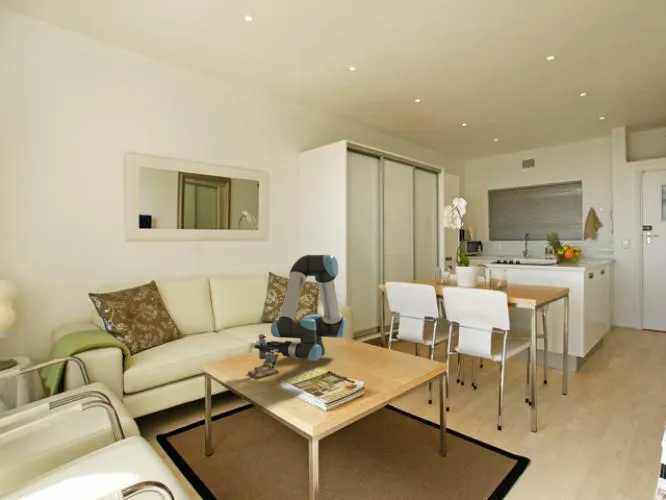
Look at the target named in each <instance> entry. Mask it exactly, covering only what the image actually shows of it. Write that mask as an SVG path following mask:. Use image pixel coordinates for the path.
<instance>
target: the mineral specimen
mask: <svg viewBox="0 0 666 500" xmlns="http://www.w3.org/2000/svg"><path fill="white" fill-rule="evenodd" d="M279 356H280V353H274V354H272V353H268V352H267V353H266V359H264V360H263V363H262V364H263V365H264V367H267V366H268V364H269V363H271V364H272V367H273V368H275V367H276V365H277V362H278V358H279Z"/></svg>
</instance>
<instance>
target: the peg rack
mask: <svg viewBox="0 0 666 500" xmlns="http://www.w3.org/2000/svg"><path fill="white" fill-rule="evenodd" d="M253 369H254V370H253ZM253 369H252V370H249V371H247V375H249V374H250V375H249V376H251V375H252V376H251V377H253V376H254V377H253V378H256V379H257V380H261V379H264V378H267V377H269V376H274V375H276V374H279V372H280V371H279V370H278V369H276V368H274V367H273V368H272V364H271V363H269V364H268V366H263V367H261V368H259V366H255V367H254V368H253Z"/></svg>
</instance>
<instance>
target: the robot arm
mask: <svg viewBox="0 0 666 500" xmlns="http://www.w3.org/2000/svg"><path fill="white" fill-rule="evenodd" d="M338 274H339V264H338V259H337V258H336V256H335V255H333V254H305V255H303V256H301V257H299V258H298V259H297V260H296V261H295V262H294V263H293V265H292V266H291V269H290V271H289V274H288V277H289V281H288V284H287V287H286V292H285V294H284V295H285V296H284V299H283V303H282V306H281V310H280V314H279V317H278V320H276V321H273V322H272V323H271V325H270V332H271V336H272V337H274V338H281V339H283V338H285V339H287V338H288V339H300V341H290V340H285V341H276V340H271V341H266V345H262V343H259V340H256V342H250V348H251V349H255V350H258V352H259V351H262V352H266V353H267V354H268V353H271V354H275V353H276V354H282V356H284V357H286V358H287V357H288V358H295V359H296V360H298V359H301V360H306V361H319V360H320V359H321V357H322V356H323V355H325V354H326V348H325V345H324V343H323V338H338V339H339V338H344V335H345V334H346V328H347V318H346V317H344V316H343V314H342V313H341V312H340V310H339V305H338V298H337V292H336V286H335V285H336V284H335V279H336V278H337V276H338ZM308 277H314V280H315V281H316V283H317V284H318V286H319V287H318V288H319V291H320V293H319V294H320V297H321V304H322V308H323V315H322V314H321V313H313V314H307V315H305V316H303V317H302V319H300V321H299V322H294V321H295V317H296V313H297V309H298V305H299V302H300V297H301V295H302V294H301V293H302V290H303V287H304V283H305V282H306V281H307V278H308ZM322 337H323V338H322Z"/></svg>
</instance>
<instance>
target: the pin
mask: <svg viewBox="0 0 666 500" xmlns="http://www.w3.org/2000/svg"><path fill="white" fill-rule="evenodd" d="M258 341H259V343H262V345H266V342H267V334H265V333H260V334H258ZM258 355H259V357H258V358H259V360H265V359H266V355H267V352H262V351H259V350H258Z"/></svg>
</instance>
